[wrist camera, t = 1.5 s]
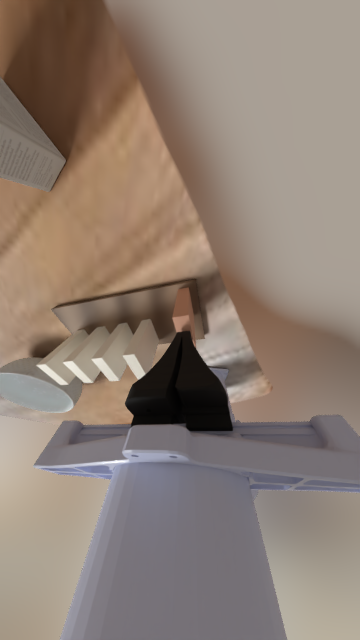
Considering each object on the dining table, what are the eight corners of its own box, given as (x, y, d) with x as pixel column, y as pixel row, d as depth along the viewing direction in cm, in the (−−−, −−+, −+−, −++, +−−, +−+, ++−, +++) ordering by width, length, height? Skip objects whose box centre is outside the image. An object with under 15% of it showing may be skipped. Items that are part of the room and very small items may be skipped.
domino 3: (126, 322, 23) (101, 357, 17) (137, 343, 26) (119, 380, 19) (118, 323, 23) (90, 359, 17) (130, 343, 26) (110, 381, 19)
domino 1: (84, 329, 25) (45, 364, 18) (98, 347, 27) (68, 384, 21) (76, 330, 25) (36, 365, 18) (91, 348, 28) (60, 385, 21)
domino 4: (150, 318, 22) (134, 354, 16) (159, 340, 25) (148, 378, 18) (141, 320, 23) (122, 355, 16) (151, 341, 25) (137, 379, 19)
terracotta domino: (188, 287, 19) (188, 315, 12) (193, 315, 22) (196, 351, 15) (178, 289, 19) (172, 317, 13) (184, 317, 22) (182, 353, 15)
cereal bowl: (79, 392, 41) (61, 419, 35) (18, 367, 35) (-16, 394, 29) (102, 370, 33) (83, 399, 27) (30, 334, 28) (-13, 360, 22)
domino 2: (104, 326, 24) (72, 361, 17) (117, 345, 27) (93, 382, 20) (97, 327, 24) (62, 362, 18) (110, 346, 27) (84, 383, 20)
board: (195, 278, 19) (196, 280, 18) (204, 335, 25) (204, 338, 24) (55, 306, 23) (50, 309, 23) (90, 349, 29) (87, 352, 28)
